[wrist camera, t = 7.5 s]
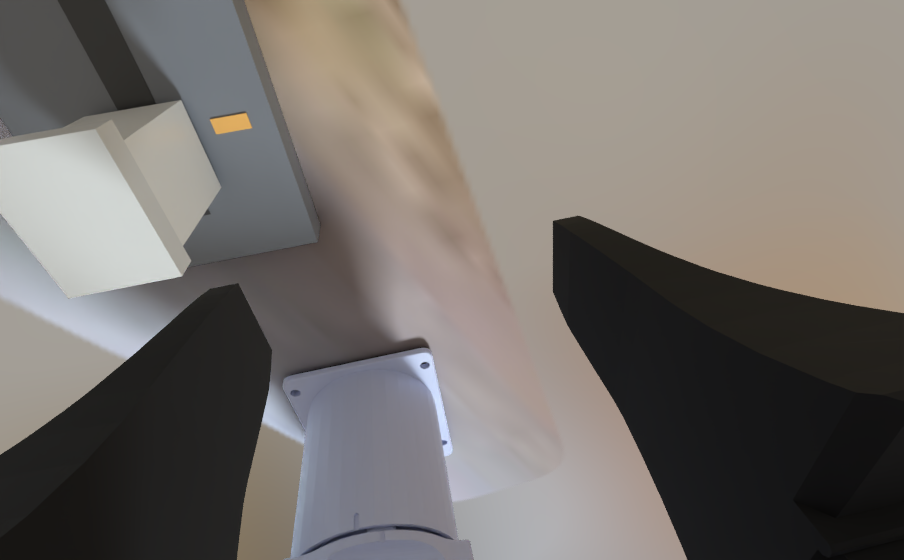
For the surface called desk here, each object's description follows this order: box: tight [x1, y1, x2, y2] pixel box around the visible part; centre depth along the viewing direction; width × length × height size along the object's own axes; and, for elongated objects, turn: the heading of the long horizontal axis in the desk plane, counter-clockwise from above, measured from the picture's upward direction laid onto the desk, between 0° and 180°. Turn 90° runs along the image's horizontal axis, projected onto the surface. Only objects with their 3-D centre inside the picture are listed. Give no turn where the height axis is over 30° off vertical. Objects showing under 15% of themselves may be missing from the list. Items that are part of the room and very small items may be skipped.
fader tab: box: [0, 100, 221, 299], centre depth 13 cm, size 4×3×5 cm
